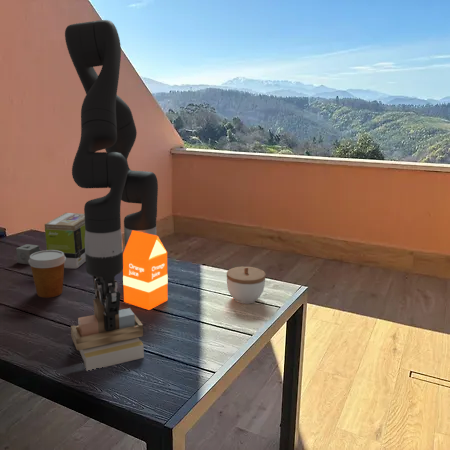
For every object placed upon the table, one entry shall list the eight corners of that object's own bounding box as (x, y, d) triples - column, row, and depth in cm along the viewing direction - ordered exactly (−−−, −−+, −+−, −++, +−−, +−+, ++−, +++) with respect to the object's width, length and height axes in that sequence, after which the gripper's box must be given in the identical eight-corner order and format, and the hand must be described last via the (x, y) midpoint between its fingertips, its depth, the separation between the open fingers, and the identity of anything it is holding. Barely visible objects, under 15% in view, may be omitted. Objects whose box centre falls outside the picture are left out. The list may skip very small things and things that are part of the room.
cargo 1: (95, 329, 102) (94, 314, 101) (98, 336, 99) (98, 321, 98) (78, 332, 101) (78, 317, 100) (82, 339, 98) (81, 324, 97)
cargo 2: (130, 322, 106) (129, 308, 105) (134, 328, 103) (134, 314, 102) (115, 325, 104) (114, 311, 103) (119, 331, 101) (118, 317, 100)
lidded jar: (269, 295, 134) (271, 264, 131) (256, 310, 124) (257, 277, 122) (235, 288, 138) (236, 258, 135) (219, 302, 128) (220, 270, 126)
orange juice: (149, 314, 120) (147, 239, 115) (123, 305, 125) (121, 233, 120) (168, 303, 127) (167, 232, 122) (143, 295, 131) (141, 226, 126)
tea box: (68, 252, 165) (65, 211, 161) (95, 254, 164) (93, 213, 160) (47, 267, 151) (43, 222, 147) (76, 269, 150) (74, 224, 146)
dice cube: (17, 262, 154) (16, 248, 153) (27, 258, 159) (26, 244, 157) (30, 264, 153) (29, 250, 151) (40, 260, 157) (39, 245, 156)
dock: (127, 332, 111) (127, 320, 110) (143, 357, 101) (143, 344, 100) (74, 344, 105) (74, 331, 104) (86, 371, 95) (85, 357, 94)
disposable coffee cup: (56, 305, 124) (53, 262, 121) (24, 301, 126) (20, 259, 123) (74, 291, 133) (72, 251, 130) (44, 288, 135) (41, 248, 132)
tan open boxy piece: (134, 324, 108) (133, 289, 105) (143, 336, 103) (142, 300, 100) (71, 337, 101) (68, 301, 99) (77, 350, 96) (74, 312, 94)
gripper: (132, 257, 93) (134, 336, 97) (113, 238, 105) (115, 309, 109) (93, 263, 89) (97, 344, 94) (78, 242, 101) (82, 315, 106)
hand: (107, 325), depth 101 cm, fingers open, 3 cm apart
